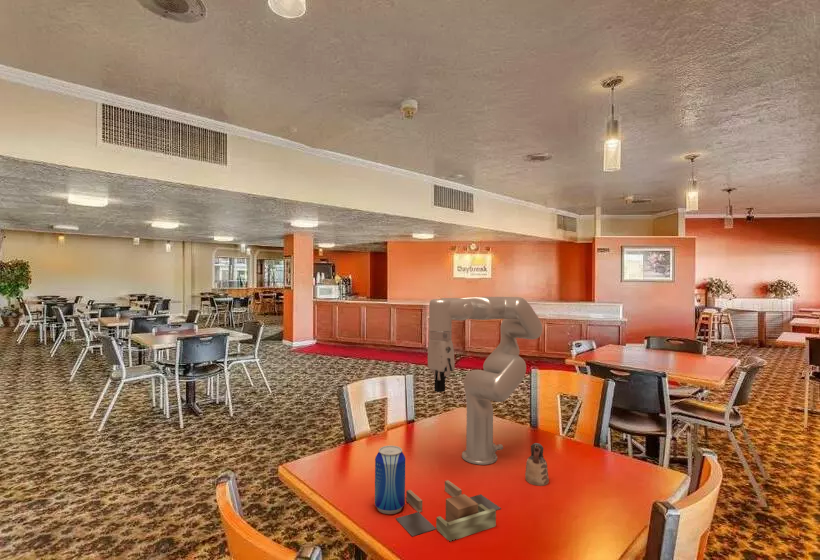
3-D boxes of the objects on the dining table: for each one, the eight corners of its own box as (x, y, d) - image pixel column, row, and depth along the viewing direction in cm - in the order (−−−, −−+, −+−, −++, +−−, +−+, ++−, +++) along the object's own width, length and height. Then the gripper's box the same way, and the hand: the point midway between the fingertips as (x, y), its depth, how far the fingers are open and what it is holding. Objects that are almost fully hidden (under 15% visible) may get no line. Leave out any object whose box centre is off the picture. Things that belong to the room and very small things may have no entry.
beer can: (374, 500, 121) (375, 444, 122) (403, 499, 122) (404, 444, 122) (374, 516, 113) (375, 456, 113) (405, 515, 114) (406, 455, 114)
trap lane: (466, 485, 131) (466, 472, 132) (516, 519, 112) (516, 504, 112) (384, 506, 118) (384, 492, 118) (424, 550, 98) (424, 532, 99)
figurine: (550, 479, 136) (550, 441, 137) (546, 488, 130) (546, 449, 130) (528, 474, 140) (528, 437, 140) (523, 482, 133) (523, 444, 134)
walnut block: (464, 516, 114) (464, 493, 114) (477, 527, 108) (478, 504, 108) (445, 522, 111) (445, 498, 111) (458, 533, 105) (458, 509, 106)
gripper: (462, 338, 136) (462, 395, 135) (437, 333, 149) (437, 385, 148) (443, 339, 132) (442, 398, 132) (419, 334, 145) (418, 387, 145)
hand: (439, 391), depth 140 cm, fingers closed
